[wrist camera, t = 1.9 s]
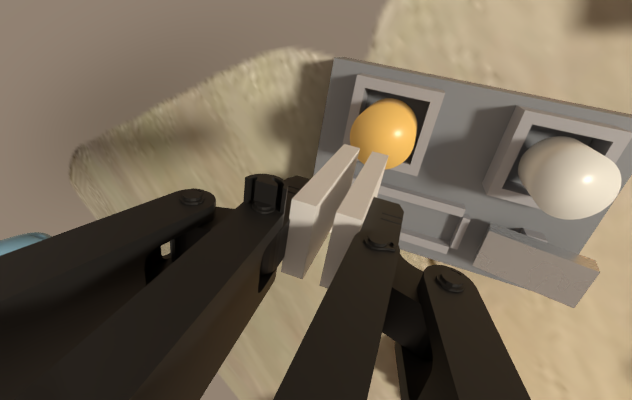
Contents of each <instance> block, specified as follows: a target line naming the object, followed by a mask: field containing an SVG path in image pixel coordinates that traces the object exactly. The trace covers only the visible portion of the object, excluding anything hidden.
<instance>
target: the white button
mask: <svg viewBox="0 0 632 400" xmlns="http://www.w3.org/2000/svg"><path fill="white" fill-rule="evenodd" d="M518 175H519V179H520V181H521V182H522V184H523V185H524V187H525V188H526V190H527V191H528V193H529V194H530V195H531V197H532V198H533V200H534V201H535V203H536V204H537V206H538V207H539V208H540V209H541V210H542V211H543V212H545V213H546V214H548V215H550V216H553V217H556V218H560V219H567V220H574V219H582V218H586V217H590V216H592V215H595V214H597V213H599V212H601V211H602V210H604V209H605V208H606V207H608V206H609V205H610V204H611V203H612V202H613V201H614V199H615V198H616V197H617V195H618V193H619V190H620V188H621V174H620V171H619V169H618V167H617V166H616V165H615V163H614V162H613V161H611V160H610V159H609V158H607V157H605V156H604V155H602V154H600V153H599V152H597V151H595V150H594V149H592V148H590V147H589V146H587V145H585V144H584V143H582V142H580V141H578V140H576V139H574V138H570V137H565V136H557V137H550V138H546V139H544V140H541V141H539V142H537V143H535V144H534V145H532V146H531V147H530V148H529V149H528V150H527V151H526V152H525V153H524V154H523V156H522V158H521V159H520V162H519V165H518Z"/></svg>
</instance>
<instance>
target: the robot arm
mask: <svg viewBox="0 0 632 400" xmlns="http://www.w3.org/2000/svg"><path fill="white" fill-rule="evenodd" d="M359 150H360V148H358V147H354V146H350V145H346V144H344V145H343V146H342V147H341V148H340V149H339V150H338V151H337V152H336V153H335V154H334V155H333V156H332V157H331V158H330V160H329V161H328V162H327V163H326V164H325V165H324V166H323V167H322V168H321V169H320V170H319V171H318V172H317V173H316V174H315V175H314V176H313V177H312V178H311V179H307V178H303V177H300V176H294V177H291V178H287V179H286V180H283V179H282V178H280V177H277V176H274V175H269V174H254V175H250V176H247V177H245V189H244V202H243V203H242V204H240V205H239V206H238V207H237V208H236V209H230V208H222V207H216V199H215V197H214V195H212V194H211V193H210V192H207V191H204V190H201V189H185V190H181V191H177V192H174V193H171V194H168V195H166V196H163V197H160V198H157V199H155V200H152V201H149V202H146V203H144V204H141V205H138V206H135V207H133V208H130V209H127V210H124V211H122V212H119V213H116V214H113V215H111V216H108V217H105V218H102V219H100V220H97V221H94V222H91V223H89V224H86V225H83V226H80V227H78V228H75V229H72V230H69V231H67V232H64V233H61V234H59V235H56V236H53V237H52V236H50V235H48V234H45V233H39V232H38V233H37V232H35V233H27V234H22V235H18V236H14V237H10V238H7V239H4V240H0V400H200V398H201V397H202V395H203V394H204V392H205V390H206V389H207V387H208V385H209V384H210V383H211V381H212V379H213V377H214V376H215V375H216V373H217V371H218V370H219V368H220V367H221V365H222V363H223V362H224V360H225V359H226V357H227V355H228V354H229V352H230V351H231V349H232V347H233V346H234V344H235V343H236V341H237V340H238V338H239V336H240V335H241V333H242V332H243V330H244V328H245V327H246V325H247V324H248V322H249V320H250V319H251V317H252V316H253V314H254V312H255V311H256V309H257V308H258V306H259V304H260V303H261V301H262V300H263V298H264V297H265V295H266V293H267V292H268V290H269V289H270V287H271V285H272V284H273V282H274V280H275V277H276V271H277V267H278V265H279V264H280V262H281V261H282V260H283V262H282V269H281V272H283V273H286V274H289V275H292V276H295V277H297V278H300V279H303V277H304V276H305V274H306V272H307V270H308V269H309V267H310V265H311V263H312V262H313V260H314V258H315V256H316V255H317V253H318V251H319V249H320V248H321V246H322V244H323V242H324V241H325V239H326V237H327V235H328V234H329V232H330V230H331V228H332V226H333V228H332V232H331V237H330V241H329V246H328V250H327V254H326V259H325V263H324V268H323V272H322V277H321V281H320V286H323V287H325V288H328V290H327V292H326V294H325V296H324V298H323V300H322V302H321V304H320V306H319V308H318V310H317V312H316V314H315V316H314V318H313V320H312V322H311V324H310V326H309V328H308V330H307V332H306V334H305V336H304V338H303V340H302V342H301V344H300V346H299V348H298V351H297V353H296V355H295V357H294V359H293V361H292V363H291V365H290V367H289V369H288V371H287V373H286V375H285V377H284V379H283V381H282V383H281V385H280V387H279V389H278V391H277V393H276V395H275V397H274V399H273V400H367V397H368V392H369V388H370V383H371V379H372V374H373V370H374V365H375V361H376V356H377V352H378V347H379V343H380V339H381V334H382V332H383V333H384V334H386V335H387V336H389V337H390V338H392V339H393V340H395V354H396V362H397V369H398V377H399V385H400V393H401V400H531V399H530V397H529V395H528V393H527V391H526V388H525V386H524V384H523V382H522V380H521V378H520V376H519V374H518V372H517V370H516V368H515V366H514V364H513V362H512V360H511V358H510V356H509V354H508V351H507V349H506V347H505V345H504V343H503V341H502V339H501V337H500V335H499V333H498V331H497V329H496V327H495V325H494V323H493V321H492V319H491V316H490V314H489V312H488V310H487V308H486V306H485V304H484V302H483V300H482V298H481V296H480V294H479V292H478V290H477V288H476V286H475V285H474V283H473V282H472V281H471V280H470V279H469V278H468V277H467V276H465V275H464V274H463V273H461V272H460V271H457V270H456V269H453V268H450V267H447V266H443V265H432V266H428V267H427V268H426V269H425V270H424V272H423V271H421V270H419V269H418V268H416V267H414V266H412V265H411V264H409V263H408V262H407V261H406V260H405V259H404V258H403V257H402V256H401V255H400V248H399V245H398V244H399V238H400V232H401V227H402V221H403V215H404V211H403V209H402V207H401V206H400V204H397V203H394V202H390V201H387V200H383V199H380V198H377V195H378V192H379V188H380V184H381V181H382V177H383V174H384V170H385V167H386V163H387V160H388V156H389V155H385V154H381V153H377V152H373V151H372V153H371V155H370V156H369V158H368V160H367V161H366V163H365V165H364V166H363V168H362V170H361V171H360V173H359V175H358V176H357V178H356V180H355V181H354V183H353V185H352V186H351V184H352V180H353V175H354V171H355V167H356V163H357V158H358V154H359ZM169 241H170V250H171V253H169V254H168V255H165V256H162V255H161V245H163V244H165V243H167V242H169Z"/></svg>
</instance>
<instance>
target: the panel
mask: <svg viewBox="0 0 632 400" xmlns="http://www.w3.org/2000/svg"><path fill="white" fill-rule="evenodd" d="M386 98H393V99H398V100H401V101H403V102H405V103H406V104H407V105H409V106H410V108H411V109H412V110H413V112H414V114H415V116H416V119H417V133H416V138H415V143H414V147H413V150H412V152H411V154H410V155H409V157H408V158H407V159H406V160H405V161H404V162H403V163H401V164H400V165H398V166H396V167H394V168H391V169H386V170H384V174H383V177H382V181H381V184H380V188H379V192H378V195H377V198H380V199H383V200H387V201H390V202H394V203H397V204H400V206H401V207H402V209H403V211H404V215H403V221H402V227H401V232H400V238H399V244H398V245H399V248H400V249H401V250H404V251H408V252H411V253H414V254H417V255H420V256H423V257H427V258H430V259H433V260H436V261H439V262H442V263H446V264H449V265H452V266H455V267H458V268H461V269H464V270H468V271H471V272H474V273H477V274H480V275H483V276H487V277H490V278H493V279H496V280H499V281H502V282H506V283H509V284H512V285H515V286H518V287H521V288H524V287H522V286H520V285H517V284H515V283H513V282H510V281H508V280H505V279H503V278H501V277H498V276H496V275H493V274H491V273H489V272H486V271H484V270H482V269H479V268H477V267H474V266H472V265H473V260H474V256H475V254H476V252H477V250H478V247H479V245H480V243H481V241H482V239H483V237H484V235H485V233H486V231H487V229H488V227H489V225H490V223H493V224H496V225H499V226H502V227H504V228H507V229H510V230H513V231H516V232H518V233H521V234H524V235H527V236H529V237H532V238H535V239H538V240H540V241H543V242H546V243H549V244H551V245H554V246H557V247H560V248H562V249H565V250H568V251H571V252H573V253H576V254H579V253H580V251H581V250H582V248H583V247H584V245H585V244H586V242H587V241H588V239H589V238H590V236H591V235H592V233H593V232H594V230H595V229H596V227H597V226H598V224H599V223H600V221H601V220H602V218H603V217H604V215H605V214H606V212H607V211H608V209H609V208H610V206H611V205H612V203H613V202H614V201H613V202H612V203H611V204H610V205H609V206H608V207H606V208H605V209H604V210H602V211H601V212H599V213H597V214H595V215H592V216H590V217H586V218H582V219H574V220H567V219H560V218H556V217H553V216H550V215H548V214H546V213H545V212H543V211H542V210H541V209H540V208H539V207H538V206H537V204H536V203H535V201H534V200H533V198H532V197H531V195H530V194H529V193H528V191H527V190H526V188H525V187H524V185H523V184H522V182H521V181H520V179H519V175H518V165H519V162H520V159H521V158H522V156H523V154H524V153H525V152H526V151H527V150H528V149H529V148H530V147H531V146H532V145H534V144H535V143H537V142H539V141H541V140H544V139H546V138H550V137H557V136H565V137H570V138H574V139H576V140H578V141H580V142H582V143H584V144H585V145H587V146H589V147H590V148H592V149H594V150H595V151H597V152H599V153H600V154H602V155H604V156H605V157H607V158H609V159H610V160H611V161H613V162H614V163H615V165H616V166H617V167H618V169H619V171H620V174H621V188H620V190H619V193H620V191H621V190H622V188H623V187H624V185H625V184H626V182H627V181H628V179H629V178H630V176H631V175H632V115H631V114H626V113H621V112H616V111H611V110H606V109H601V108H596V107H591V106H586V105H581V104H576V103H571V102H566V101H561V100H556V99H551V98H546V97H541V96H536V95H531V94H526V93H521V92H516V91H511V90H506V89H501V88H496V87H491V86H486V85H481V84H476V83H471V82H466V81H461V80H456V79H451V78H446V77H441V76H436V75H431V74H426V73H421V72H416V71H411V70H406V69H401V68H396V67H391V66H386V65H381V64H376V63H372V62H367V61H362V60H357V59H352V58H347V57H339V58H334V61H333V67H332V72H331V78H330V84H329V90H328V95H327V101H326V107H325V112H324V118H323V124H322V129H321V135H320V141H319V146H318V152H317V158H316V163H315V169H314V175H315V174H316V173H317V172H318V171H319V170H320V169H321V168H322V167H323V166H324V165H325V164H326V163H327V162H328V161H329V160H330V158H331V157H332V156H333V155H334V154H335V153H336V152H337V151H338V150H339V149H340V148H341V147H342V146H343V145H344V144H346V145H350V131H351V127H352V125H353V123H354V121H355V120H356V118H357V117H358V116H359V115H360V114H361V113H362V112H363V111H365V110H366V109H367V108H368V107H369V106H370V105H372V104H373V103H375V102H376V101H379V100H381V99H386ZM350 146H351V145H350ZM363 166H364V164H363V163H362V162H360V161H359V160H358V159H357V163H356V167H355V171H354V175H353V180H352V184H351V186H352V185H353V183H354V181H355V180H356V178H357V176H358V175H359V173H360V171H361V170H362V168H363ZM314 175H313V176H314ZM619 193H618V194H619ZM617 196H618V195H617ZM615 199H616V198H615ZM615 199H614V200H615ZM525 289H527V288H525ZM528 290H529V289H528ZM531 291H532V290H531Z"/></svg>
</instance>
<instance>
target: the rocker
mask: <svg viewBox="0 0 632 400" xmlns="http://www.w3.org/2000/svg"><path fill="white" fill-rule="evenodd" d="M472 266H474V267H477V268H479V269H482V270H484V271H486V272H489V273H491V274H493V275H496V276H498V277H501V278H503V279H505V280H508V281H510V282H513V283H515V284H517V285H520V286H522V287H524V288H527V289H529V290H532V291H534V292H536V293H539V294H541V295H544V296H546V297H548V298H551V299H553V300H555V301H558V302H560V303H563V304H565V305H567V306H570V307H572V308H575V306H576V305H577V304H578V302H579V301H580V299H581V298H582V297H583V295H584V294H585V293H586V291H587V290H588V288H589V287H590V286H591V284H592V283H593V282H594V280H595V279H596V277H597V276H598V275H599V273H600V271H599V268H598V266H597V263H596V261H595V260H593V259H590V258H587V257H584V256H582V255H579V254H576V253H573V252H571V251H568V250H565V249H562V248H560V247H557V246H554V245H551V244H549V243H546V242H543V241H540V240H538V239H535V238H532V237H529V236H527V235H524V234H521V233H518V232H516V231H513V230H510V229H507V228H504V227H502V226H499V225H496V224H493V223H490V225H489V227H488V229H487V231H486V233H485V235H484V237H483V239H482V241H481V243H480V245H479V247H478V250H477V252H476V254H475V256H474V260H473V265H472Z"/></svg>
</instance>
